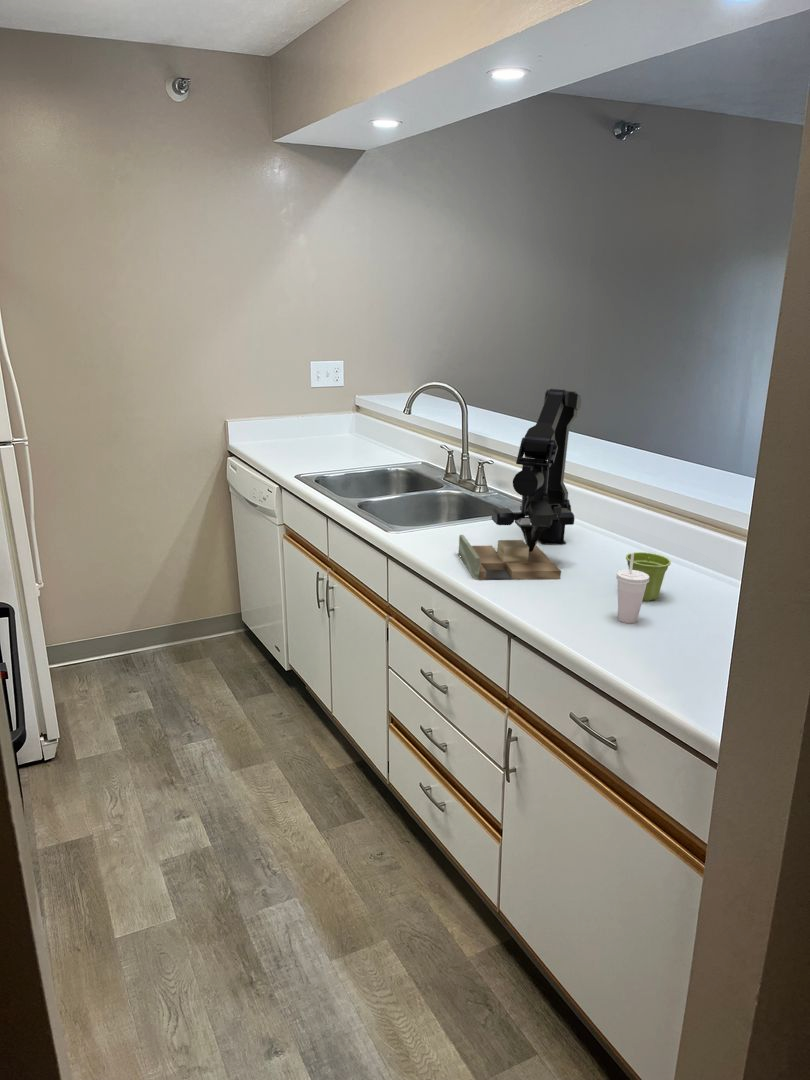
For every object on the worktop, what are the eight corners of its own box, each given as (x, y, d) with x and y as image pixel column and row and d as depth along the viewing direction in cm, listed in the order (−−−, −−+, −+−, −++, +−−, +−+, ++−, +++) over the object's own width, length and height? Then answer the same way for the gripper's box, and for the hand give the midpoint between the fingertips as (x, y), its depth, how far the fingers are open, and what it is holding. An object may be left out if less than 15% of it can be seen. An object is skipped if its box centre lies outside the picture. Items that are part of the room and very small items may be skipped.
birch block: (521, 553, 197) (522, 539, 196) (527, 561, 191) (529, 547, 190) (497, 553, 196) (498, 540, 195) (503, 561, 191) (504, 547, 190)
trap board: (535, 552, 205) (537, 533, 204) (560, 579, 186) (562, 558, 185) (458, 553, 202) (459, 534, 201) (475, 580, 183) (476, 559, 182)
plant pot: (666, 592, 179) (671, 555, 177) (665, 606, 171) (670, 567, 168) (623, 586, 182) (627, 550, 180) (619, 600, 174) (624, 562, 171)
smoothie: (606, 613, 166) (614, 548, 162) (637, 613, 166) (645, 548, 162) (617, 626, 160) (625, 558, 156) (648, 626, 160) (657, 558, 156)
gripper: (505, 495, 180) (500, 562, 185) (585, 495, 183) (579, 561, 187) (493, 484, 191) (489, 547, 195) (569, 484, 194) (563, 547, 198)
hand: (530, 551), depth 194 cm, fingers closed
